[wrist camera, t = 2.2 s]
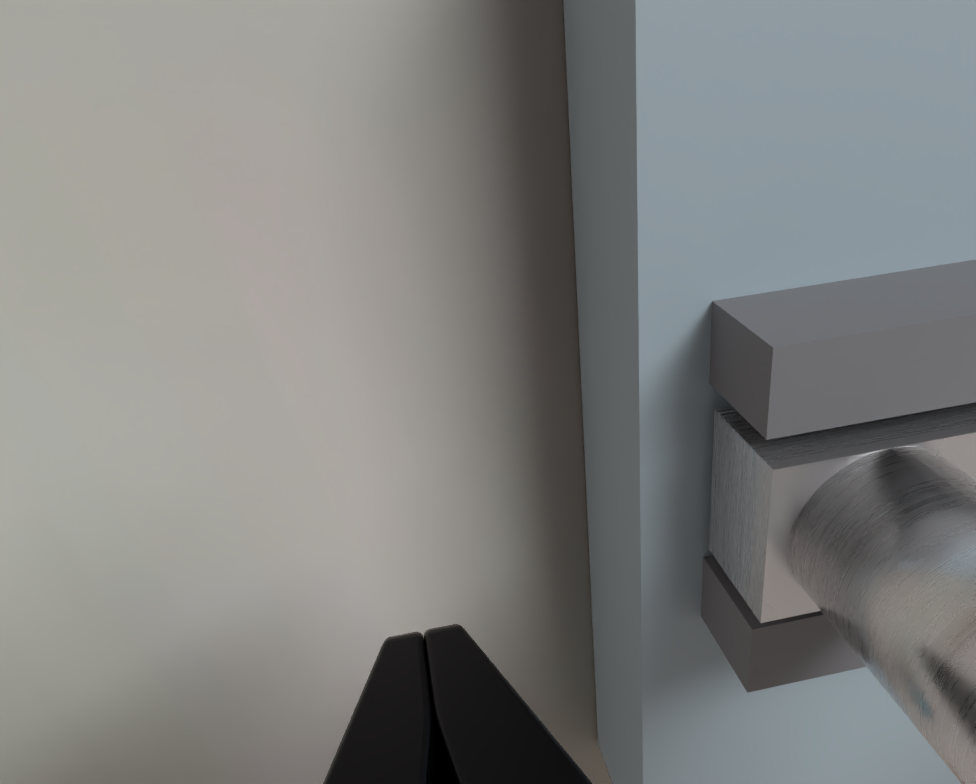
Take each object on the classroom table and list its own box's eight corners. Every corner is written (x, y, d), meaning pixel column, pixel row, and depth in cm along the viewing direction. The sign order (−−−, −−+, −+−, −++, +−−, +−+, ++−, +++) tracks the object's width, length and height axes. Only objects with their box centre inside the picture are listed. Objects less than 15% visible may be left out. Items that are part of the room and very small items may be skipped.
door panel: (1241, -285, 11) (1772, -459, 7) (992, 656, 19) (1171, 830, 15) (552, -233, 10) (704, -407, 6) (598, 743, 18) (675, 957, 14)
